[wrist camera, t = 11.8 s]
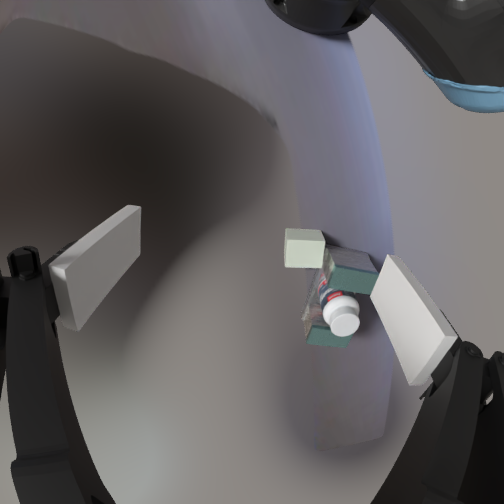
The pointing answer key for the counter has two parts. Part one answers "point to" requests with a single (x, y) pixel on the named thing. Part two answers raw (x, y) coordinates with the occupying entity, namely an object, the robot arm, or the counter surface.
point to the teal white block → (338, 277)
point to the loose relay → (304, 248)
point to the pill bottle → (339, 309)
